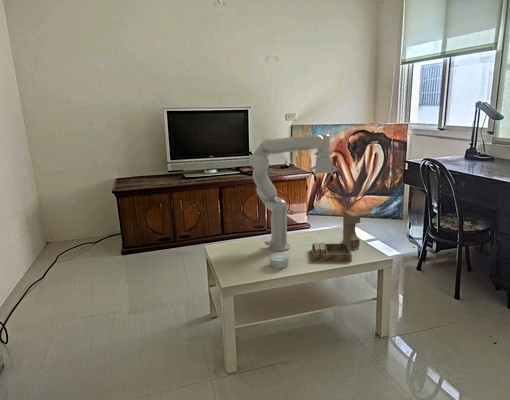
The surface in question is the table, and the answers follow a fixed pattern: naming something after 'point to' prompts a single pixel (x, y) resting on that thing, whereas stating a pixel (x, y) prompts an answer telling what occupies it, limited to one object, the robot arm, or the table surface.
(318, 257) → the rack
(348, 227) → the decorative block
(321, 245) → the offcut
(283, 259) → the ramekin
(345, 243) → the mat
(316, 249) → the offcut
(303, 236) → the table surface
